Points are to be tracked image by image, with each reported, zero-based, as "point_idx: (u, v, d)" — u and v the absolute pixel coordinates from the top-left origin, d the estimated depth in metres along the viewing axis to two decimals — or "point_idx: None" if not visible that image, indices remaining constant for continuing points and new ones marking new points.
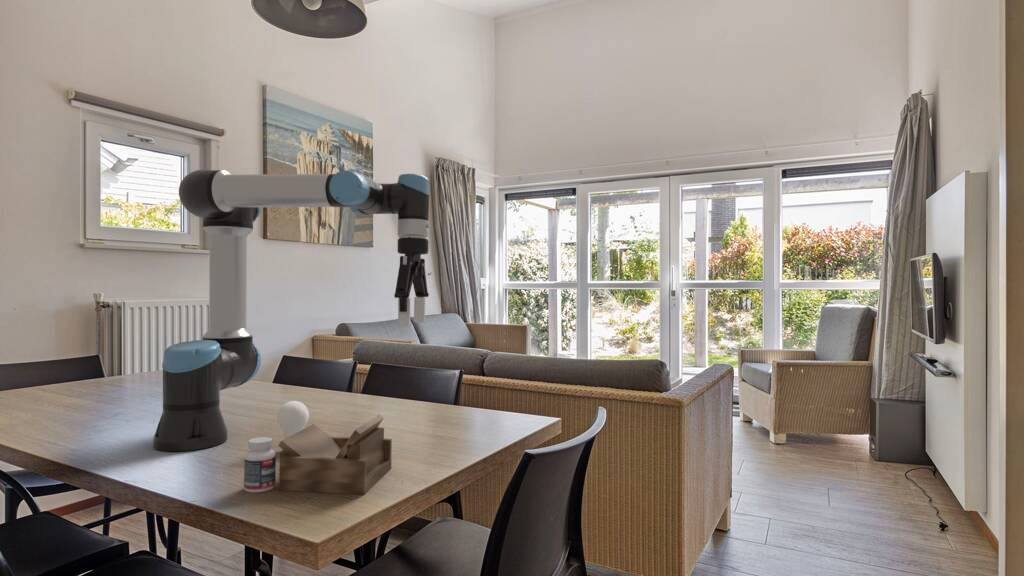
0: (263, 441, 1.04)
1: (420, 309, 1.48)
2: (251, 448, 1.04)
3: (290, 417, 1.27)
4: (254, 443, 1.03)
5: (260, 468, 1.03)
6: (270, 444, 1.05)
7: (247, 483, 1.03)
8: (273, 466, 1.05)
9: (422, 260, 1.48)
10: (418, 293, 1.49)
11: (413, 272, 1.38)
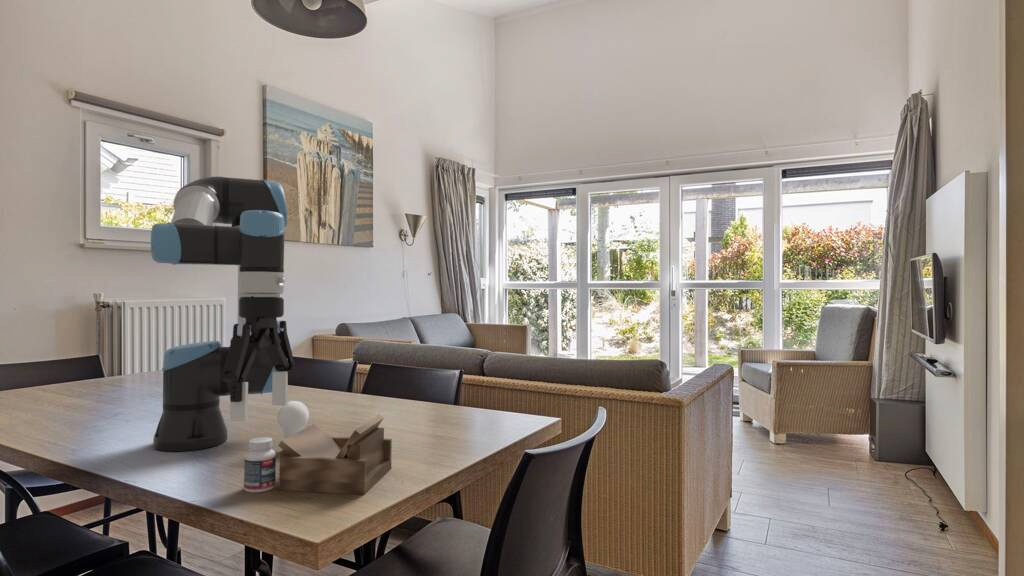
0: (263, 441, 1.04)
1: (280, 388, 1.11)
2: (251, 448, 1.04)
3: (290, 417, 1.27)
4: (254, 443, 1.03)
5: (260, 468, 1.03)
6: (270, 444, 1.05)
7: (247, 483, 1.03)
8: (273, 466, 1.05)
9: (282, 323, 1.11)
10: (279, 366, 1.12)
11: (256, 344, 1.01)
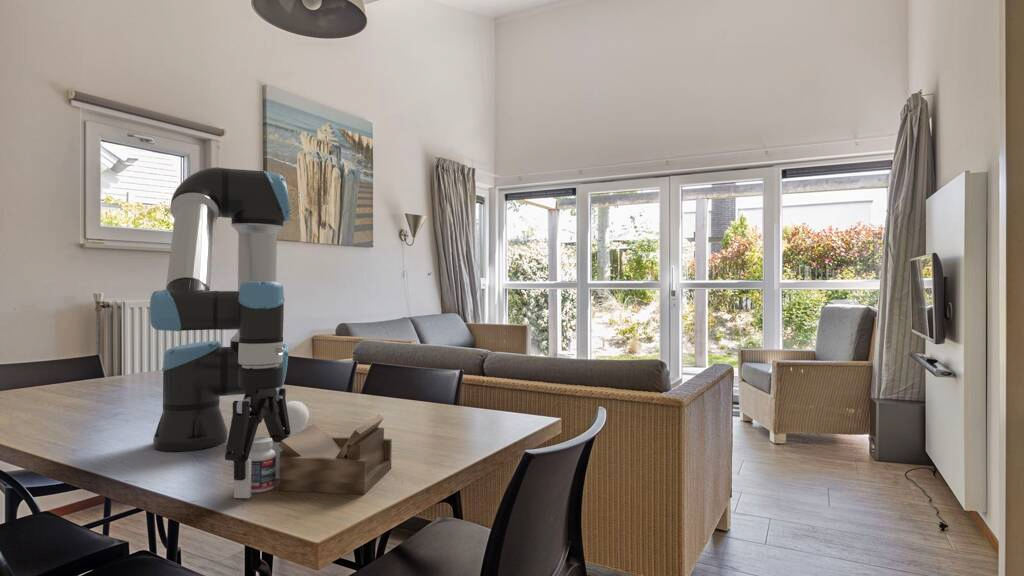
0: (263, 441, 1.04)
1: (276, 459, 1.10)
2: (251, 448, 1.04)
3: (290, 417, 1.27)
4: (254, 443, 1.03)
5: (260, 468, 1.03)
6: (270, 444, 1.05)
7: None
8: (273, 466, 1.05)
9: (281, 390, 1.11)
10: (275, 436, 1.11)
11: (256, 419, 1.02)
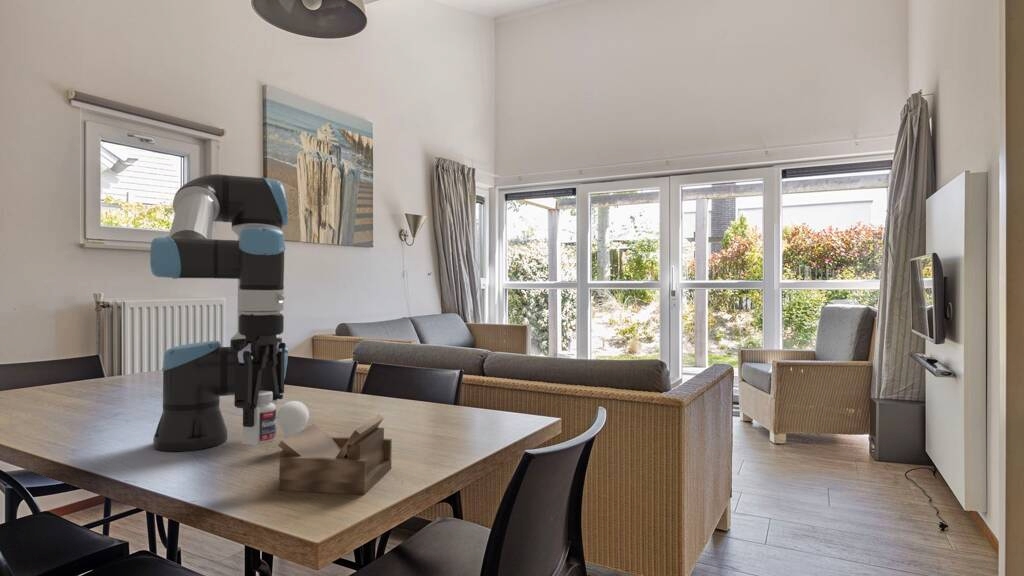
0: (263, 394, 1.05)
1: None
2: None
3: (290, 417, 1.27)
4: None
5: (260, 420, 1.03)
6: (270, 397, 1.05)
7: None
8: (274, 419, 1.06)
9: (281, 344, 1.11)
10: None
11: (259, 367, 1.03)
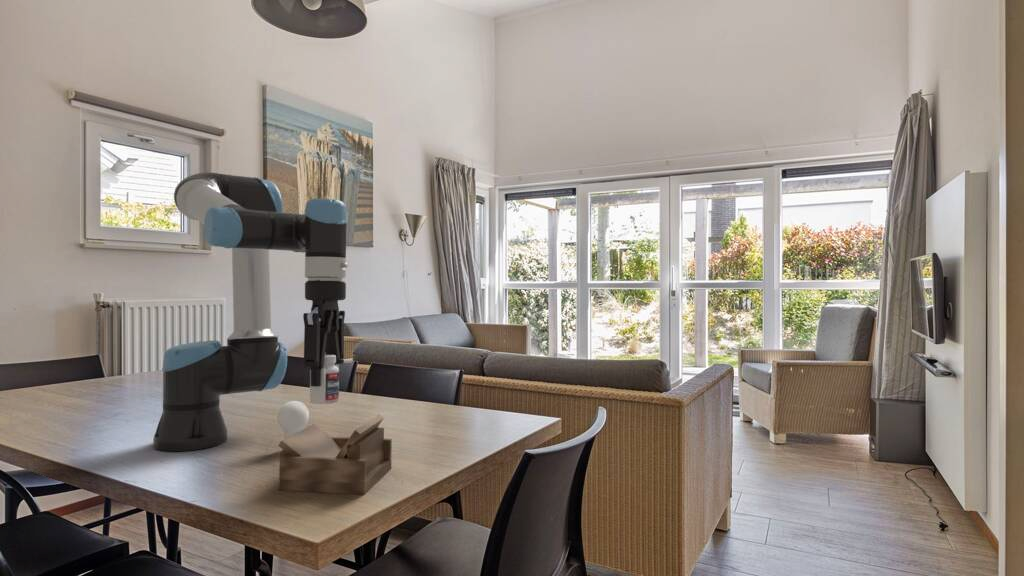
0: (328, 356, 1.10)
1: None
2: None
3: (290, 417, 1.27)
4: None
5: (326, 380, 1.09)
6: (334, 359, 1.11)
7: None
8: (337, 381, 1.11)
9: (341, 312, 1.17)
10: None
11: (325, 330, 1.08)
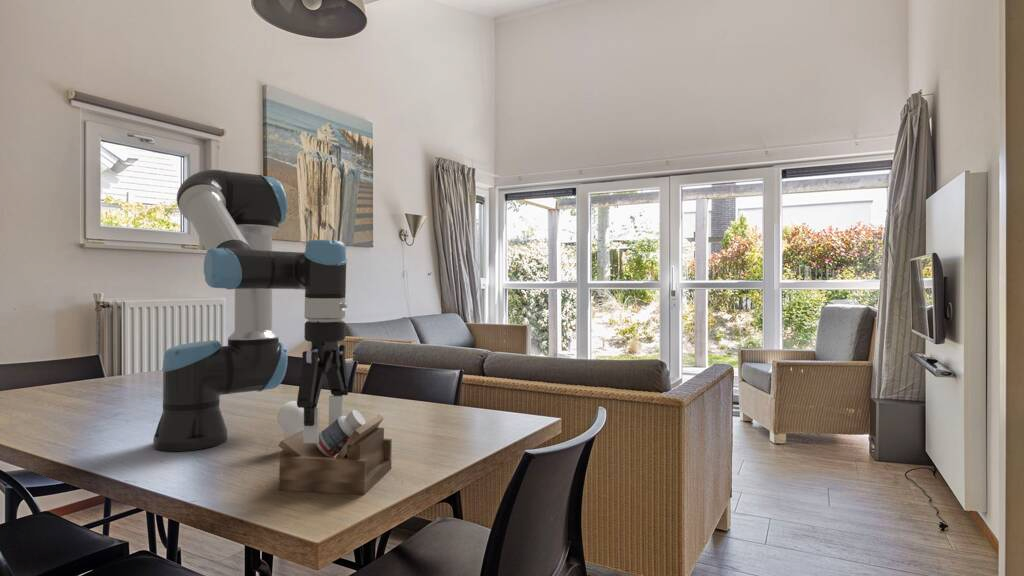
0: (361, 422, 1.10)
1: (336, 412, 1.16)
2: (349, 420, 1.10)
3: (290, 417, 1.27)
4: (355, 419, 1.09)
5: (342, 440, 1.09)
6: None
7: (322, 440, 1.09)
8: None
9: (341, 346, 1.17)
10: (334, 390, 1.17)
11: (323, 369, 1.08)
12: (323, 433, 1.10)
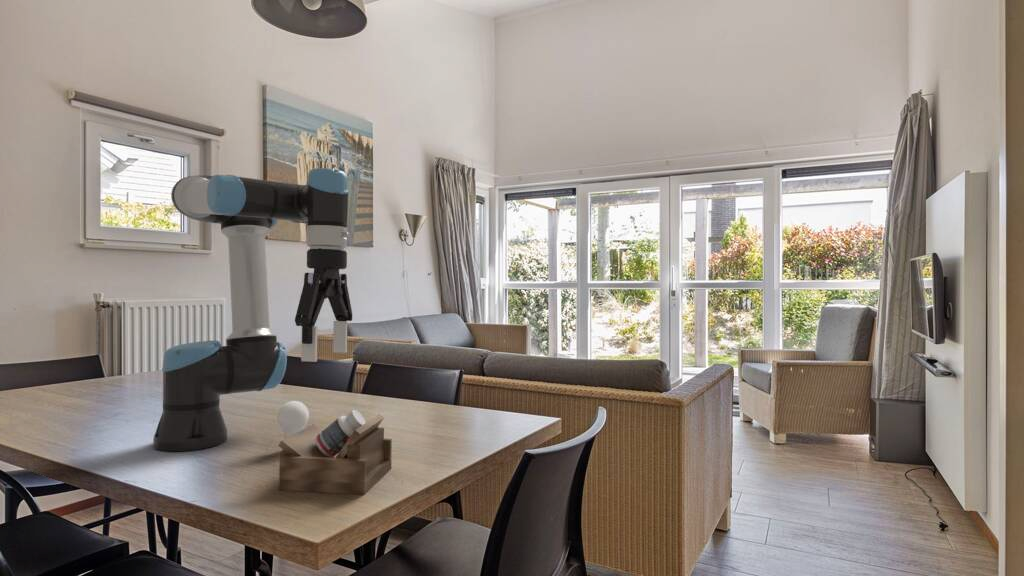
0: (361, 422, 1.10)
1: (340, 336, 1.20)
2: (349, 420, 1.10)
3: (290, 417, 1.27)
4: (355, 419, 1.09)
5: (342, 440, 1.09)
6: None
7: (322, 440, 1.09)
8: None
9: (343, 276, 1.19)
10: (339, 316, 1.21)
11: (323, 293, 1.09)
12: (323, 433, 1.10)
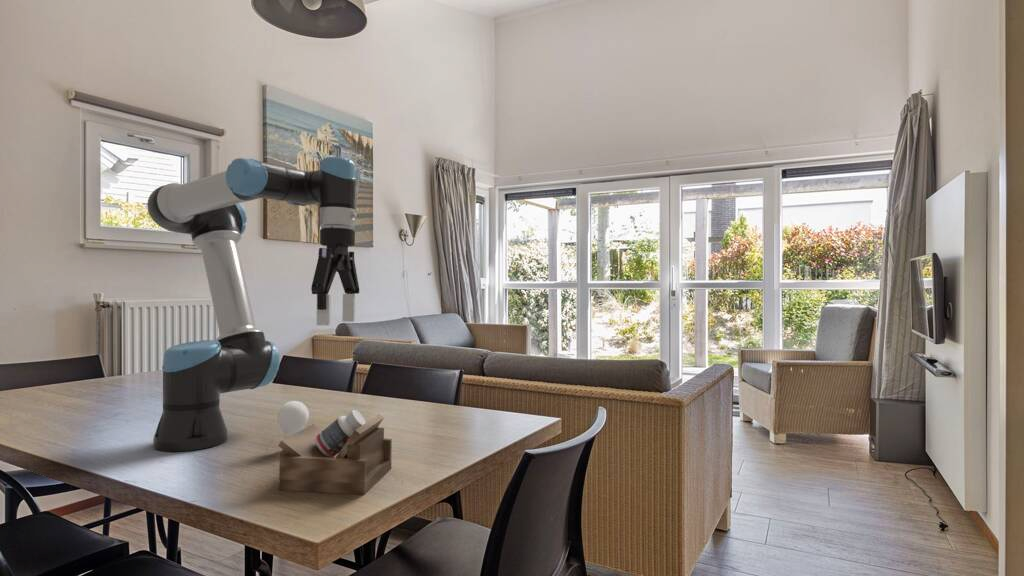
0: (361, 422, 1.10)
1: (349, 307, 1.35)
2: (349, 420, 1.10)
3: (290, 417, 1.27)
4: (355, 419, 1.09)
5: (342, 440, 1.09)
6: None
7: (322, 440, 1.09)
8: None
9: (351, 253, 1.34)
10: (347, 289, 1.36)
11: (335, 266, 1.25)
12: (323, 433, 1.10)
